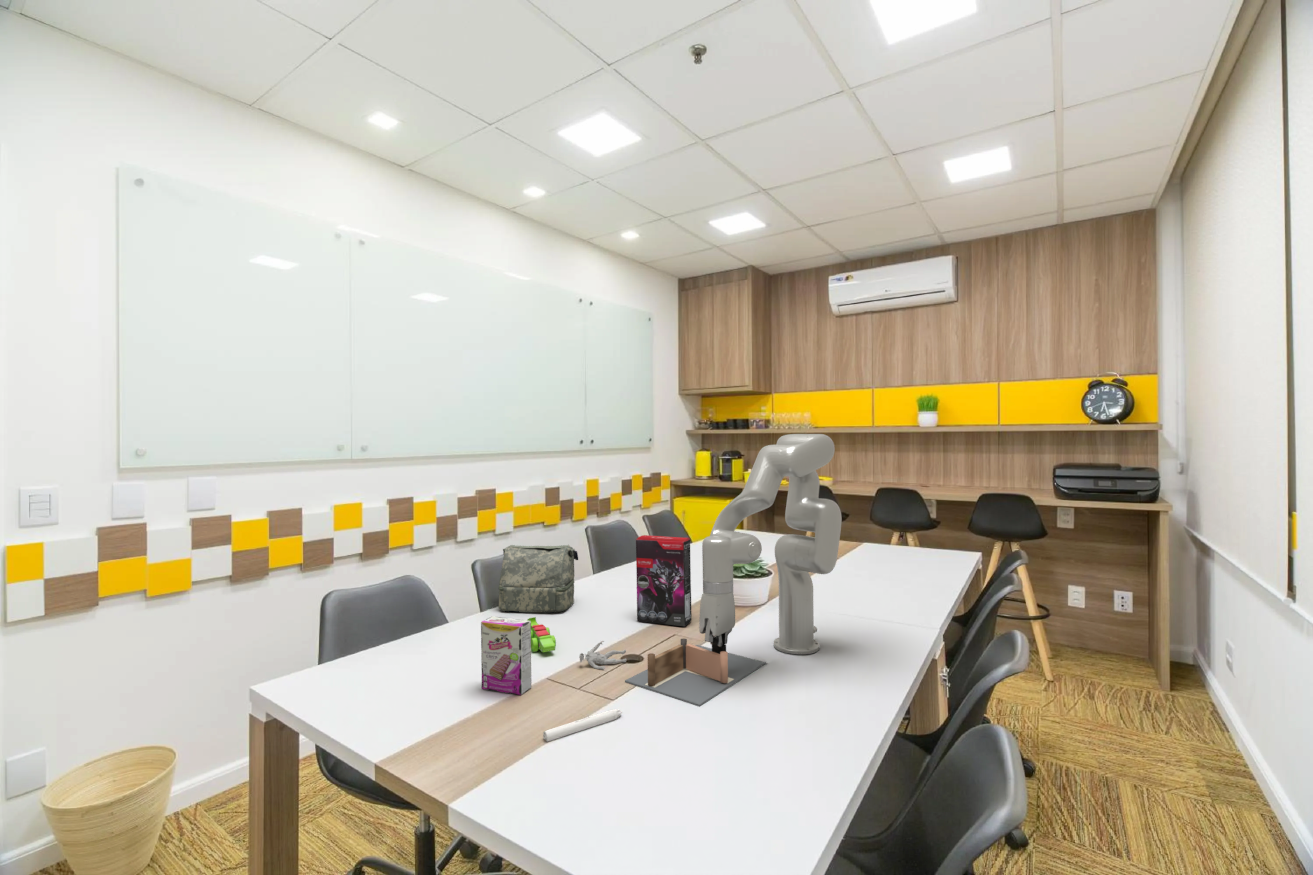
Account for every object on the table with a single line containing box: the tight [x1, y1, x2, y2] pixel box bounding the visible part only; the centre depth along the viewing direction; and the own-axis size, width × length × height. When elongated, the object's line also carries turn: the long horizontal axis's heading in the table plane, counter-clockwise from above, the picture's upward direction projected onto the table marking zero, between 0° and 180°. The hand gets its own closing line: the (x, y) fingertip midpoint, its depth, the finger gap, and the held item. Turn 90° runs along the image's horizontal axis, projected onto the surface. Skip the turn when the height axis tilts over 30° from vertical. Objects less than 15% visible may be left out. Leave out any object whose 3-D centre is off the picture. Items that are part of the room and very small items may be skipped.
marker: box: [542, 708, 623, 743], centre depth 125 cm, size 18×2×2 cm, turn 125°
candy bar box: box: [480, 616, 532, 696], centre depth 144 cm, size 11×5×16 cm, turn 71°
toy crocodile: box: [527, 616, 557, 653], centre depth 174 cm, size 20×7×6 cm, turn 22°
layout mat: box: [624, 644, 767, 707], centre depth 153 cm, size 31×22×1 cm
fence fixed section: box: [647, 638, 688, 686], centre depth 150 cm, size 15×2×7 cm, turn 142°
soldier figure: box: [579, 640, 627, 671], centre depth 159 cm, size 8×5×12 cm
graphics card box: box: [635, 534, 693, 627], centre depth 195 cm, size 17×7×27 cm, turn 67°
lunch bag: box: [498, 544, 579, 613], centre depth 213 cm, size 26×18×22 cm
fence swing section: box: [686, 643, 729, 683], centre depth 150 cm, size 13×2×7 cm, turn 44°
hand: (719, 660), depth 150 cm, fingers closed
